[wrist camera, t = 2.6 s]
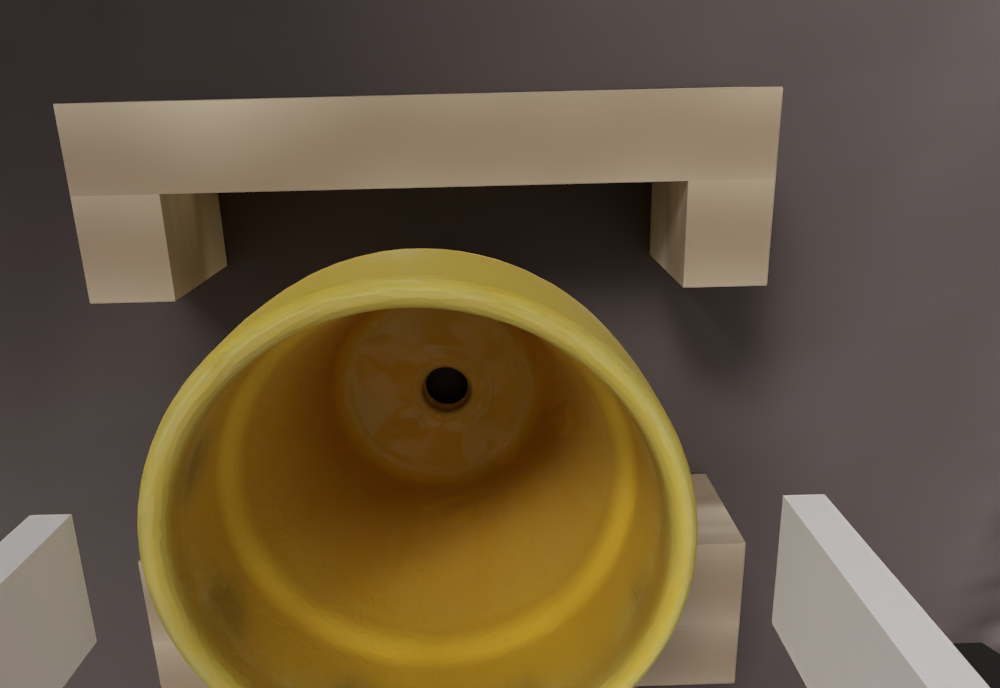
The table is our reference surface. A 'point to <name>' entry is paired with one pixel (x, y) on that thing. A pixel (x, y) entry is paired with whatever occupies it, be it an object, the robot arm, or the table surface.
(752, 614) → the table surface
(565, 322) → the plant pot
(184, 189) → the flower pot holder
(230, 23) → the table surface
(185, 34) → the table surface
